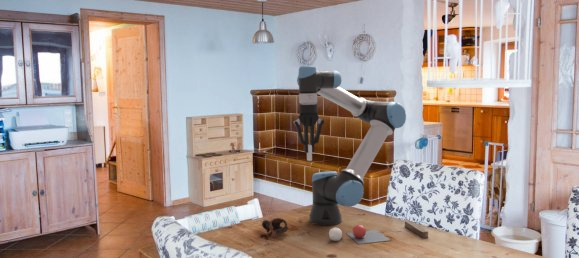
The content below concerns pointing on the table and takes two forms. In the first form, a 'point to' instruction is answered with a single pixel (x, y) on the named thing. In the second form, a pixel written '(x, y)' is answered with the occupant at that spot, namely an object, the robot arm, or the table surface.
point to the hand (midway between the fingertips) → (309, 160)
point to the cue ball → (335, 234)
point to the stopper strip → (416, 229)
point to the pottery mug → (275, 226)
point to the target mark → (369, 237)
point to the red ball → (359, 231)
